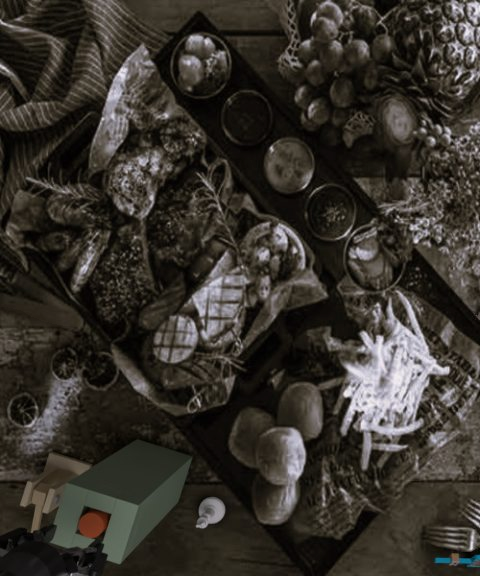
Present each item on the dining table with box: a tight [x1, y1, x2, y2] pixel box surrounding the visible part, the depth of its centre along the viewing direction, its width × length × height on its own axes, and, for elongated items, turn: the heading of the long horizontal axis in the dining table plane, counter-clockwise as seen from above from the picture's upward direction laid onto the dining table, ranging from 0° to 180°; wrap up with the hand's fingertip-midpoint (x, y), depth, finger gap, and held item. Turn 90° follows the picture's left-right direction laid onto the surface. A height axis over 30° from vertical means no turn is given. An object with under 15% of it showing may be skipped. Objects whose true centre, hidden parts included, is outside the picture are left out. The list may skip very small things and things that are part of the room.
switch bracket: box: [19, 451, 93, 515], centre depth 138 cm, size 9×8×12 cm
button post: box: [49, 438, 194, 565], centre depth 127 cm, size 11×9×33 cm
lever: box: [30, 483, 52, 533], centre depth 135 cm, size 12×5×2 cm, turn 163°
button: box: [79, 508, 110, 538], centre depth 111 cm, size 4×4×3 cm
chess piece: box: [195, 496, 226, 529], centre depth 139 cm, size 5×5×10 cm
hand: (75, 538), depth 104 cm, fingers open, 6 cm apart
